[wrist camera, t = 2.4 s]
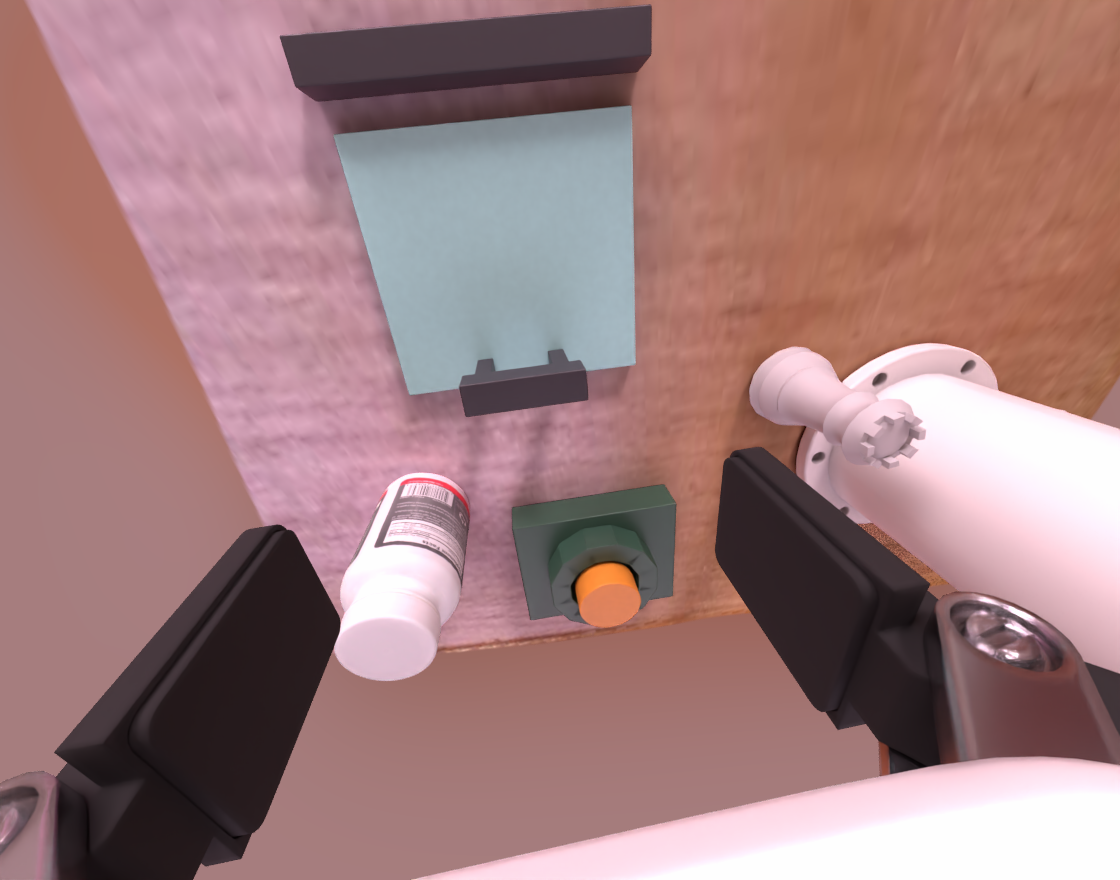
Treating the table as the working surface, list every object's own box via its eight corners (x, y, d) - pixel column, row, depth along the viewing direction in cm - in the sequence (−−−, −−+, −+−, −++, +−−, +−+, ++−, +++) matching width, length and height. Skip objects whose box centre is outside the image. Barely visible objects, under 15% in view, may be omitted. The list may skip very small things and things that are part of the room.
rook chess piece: (809, 411, 25) (929, 480, 18) (740, 420, 25) (834, 495, 18) (824, 339, 23) (965, 385, 16) (749, 349, 23) (859, 400, 16)
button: (632, 556, 24) (641, 578, 22) (633, 598, 26) (641, 622, 24) (572, 566, 24) (576, 589, 22) (577, 608, 25) (582, 632, 24)
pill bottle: (424, 553, 27) (385, 708, 18) (361, 502, 24) (281, 650, 16) (489, 511, 26) (480, 651, 17) (429, 453, 23) (384, 581, 15)
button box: (664, 483, 26) (688, 522, 23) (662, 573, 30) (683, 618, 26) (511, 507, 26) (512, 550, 22) (528, 595, 29) (531, 644, 26)
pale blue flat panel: (626, 110, 17) (674, 60, 12) (631, 361, 22) (666, 396, 17) (339, 138, 16) (269, 97, 12) (412, 390, 22) (384, 435, 17)
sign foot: (637, 26, 16) (652, 3, 14) (638, 72, 17) (651, 55, 15) (302, 55, 15) (278, 34, 14) (316, 102, 16) (295, 87, 14)
